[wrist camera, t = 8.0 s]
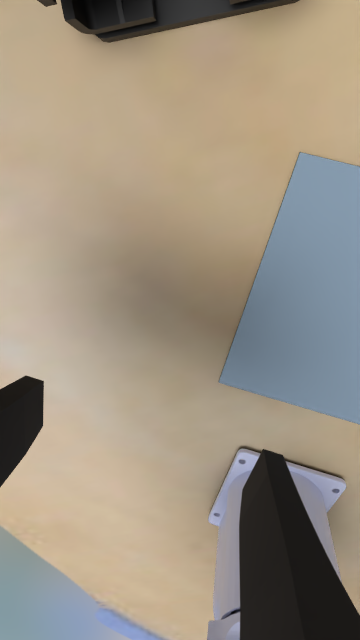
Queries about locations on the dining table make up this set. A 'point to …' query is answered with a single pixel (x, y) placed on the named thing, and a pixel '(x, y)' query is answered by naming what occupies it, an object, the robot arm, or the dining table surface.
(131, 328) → the dining table surface
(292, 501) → the robot arm
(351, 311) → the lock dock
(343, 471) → the dining table surface
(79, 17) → the end cap
